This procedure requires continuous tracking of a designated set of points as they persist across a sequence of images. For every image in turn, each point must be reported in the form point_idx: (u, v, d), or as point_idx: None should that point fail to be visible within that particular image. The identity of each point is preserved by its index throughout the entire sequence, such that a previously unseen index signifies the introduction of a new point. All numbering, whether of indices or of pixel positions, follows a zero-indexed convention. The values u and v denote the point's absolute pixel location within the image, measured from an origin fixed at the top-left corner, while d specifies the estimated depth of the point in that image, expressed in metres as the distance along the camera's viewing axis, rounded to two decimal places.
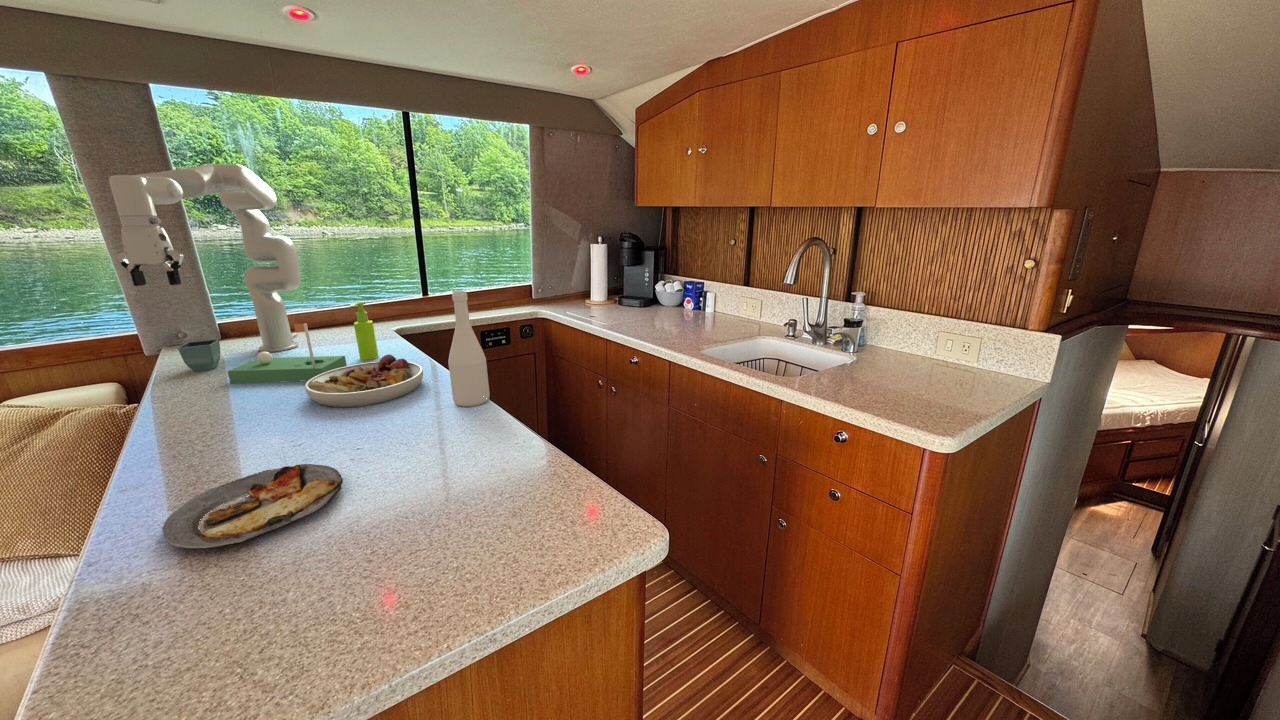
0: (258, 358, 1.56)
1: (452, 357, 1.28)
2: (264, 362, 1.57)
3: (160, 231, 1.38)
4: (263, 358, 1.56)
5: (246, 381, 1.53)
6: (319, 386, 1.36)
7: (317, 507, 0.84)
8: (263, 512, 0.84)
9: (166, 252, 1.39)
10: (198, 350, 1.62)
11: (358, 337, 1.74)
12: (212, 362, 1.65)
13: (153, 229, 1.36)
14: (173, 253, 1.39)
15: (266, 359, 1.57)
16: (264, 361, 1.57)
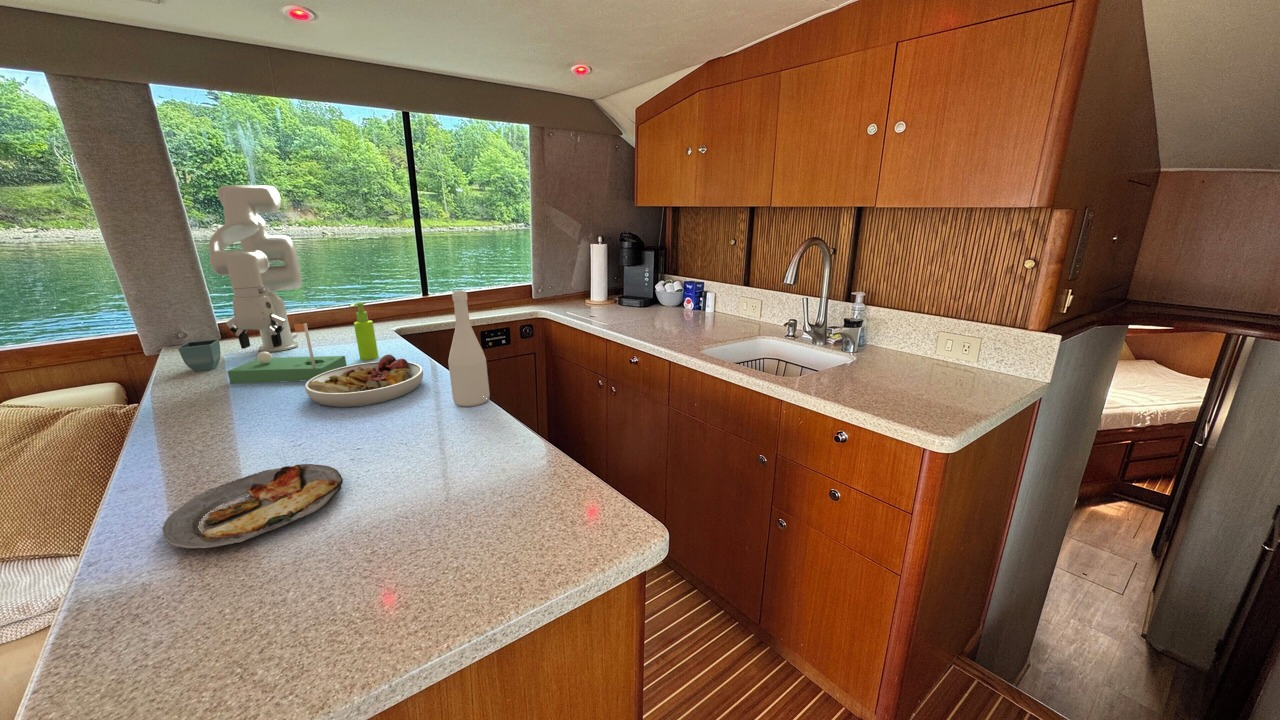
0: (258, 358, 1.56)
1: (452, 357, 1.28)
2: (264, 362, 1.57)
3: (266, 300, 1.53)
4: (263, 358, 1.56)
5: (246, 381, 1.53)
6: (319, 386, 1.36)
7: (317, 507, 0.84)
8: (263, 512, 0.84)
9: (271, 318, 1.54)
10: (198, 350, 1.62)
11: (358, 337, 1.74)
12: (212, 362, 1.65)
13: (261, 298, 1.51)
14: (277, 319, 1.54)
15: (266, 359, 1.57)
16: (264, 361, 1.57)
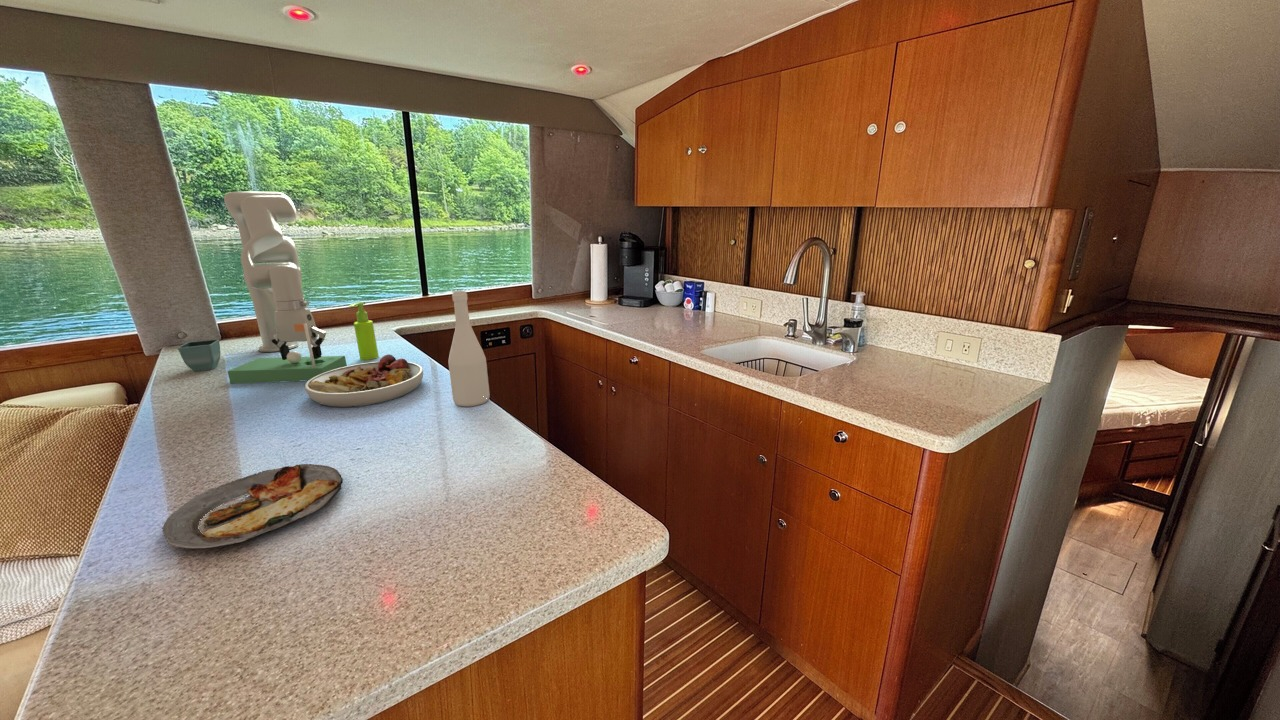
0: (290, 360, 1.57)
1: (452, 357, 1.28)
2: (294, 355, 1.57)
3: (307, 312, 1.55)
4: (288, 356, 1.56)
5: (246, 381, 1.53)
6: (319, 386, 1.36)
7: (317, 507, 0.84)
8: (263, 512, 0.84)
9: (312, 330, 1.56)
10: (198, 350, 1.62)
11: (358, 337, 1.74)
12: (212, 362, 1.65)
13: (303, 311, 1.53)
14: (318, 331, 1.56)
15: (291, 353, 1.57)
16: (292, 355, 1.56)
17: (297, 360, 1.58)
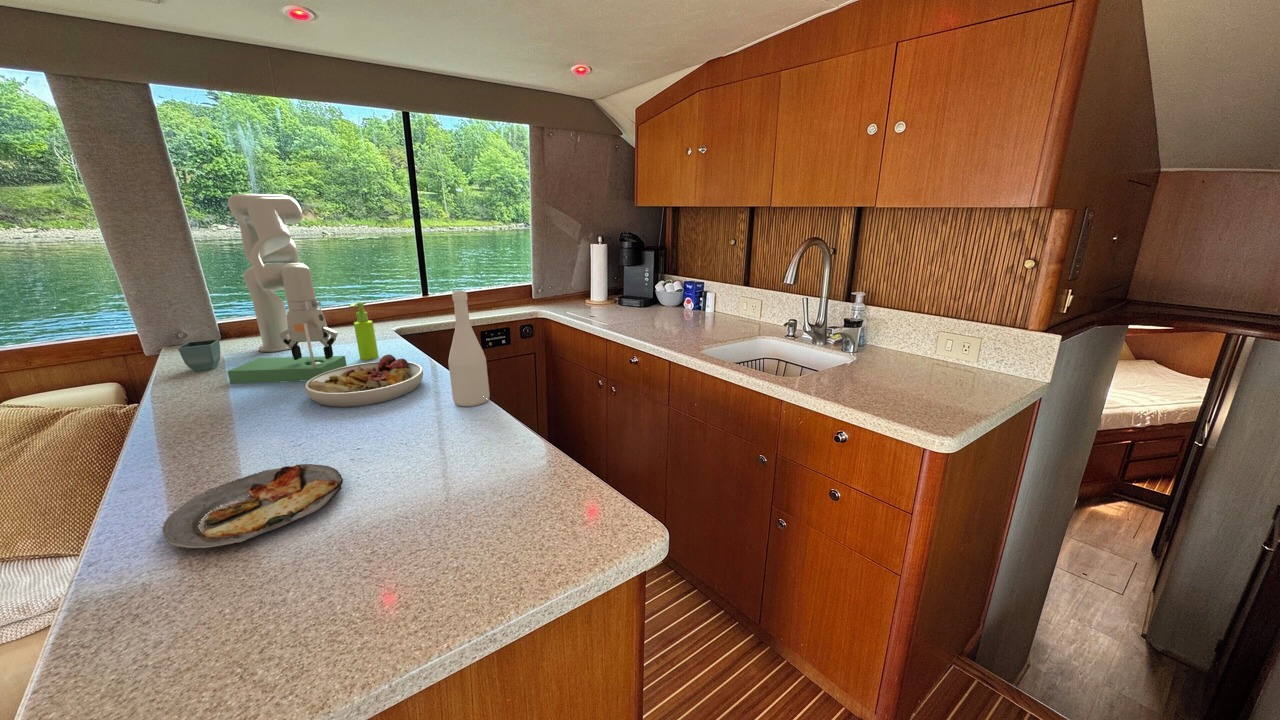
0: None
1: (452, 357, 1.28)
2: None
3: (319, 312, 1.55)
4: None
5: (246, 381, 1.53)
6: (319, 386, 1.36)
7: (317, 507, 0.84)
8: (263, 512, 0.84)
9: (324, 330, 1.56)
10: (198, 350, 1.62)
11: (358, 337, 1.74)
12: (212, 362, 1.65)
13: (315, 311, 1.54)
14: (330, 331, 1.56)
15: None
16: None
17: (315, 363, 1.59)
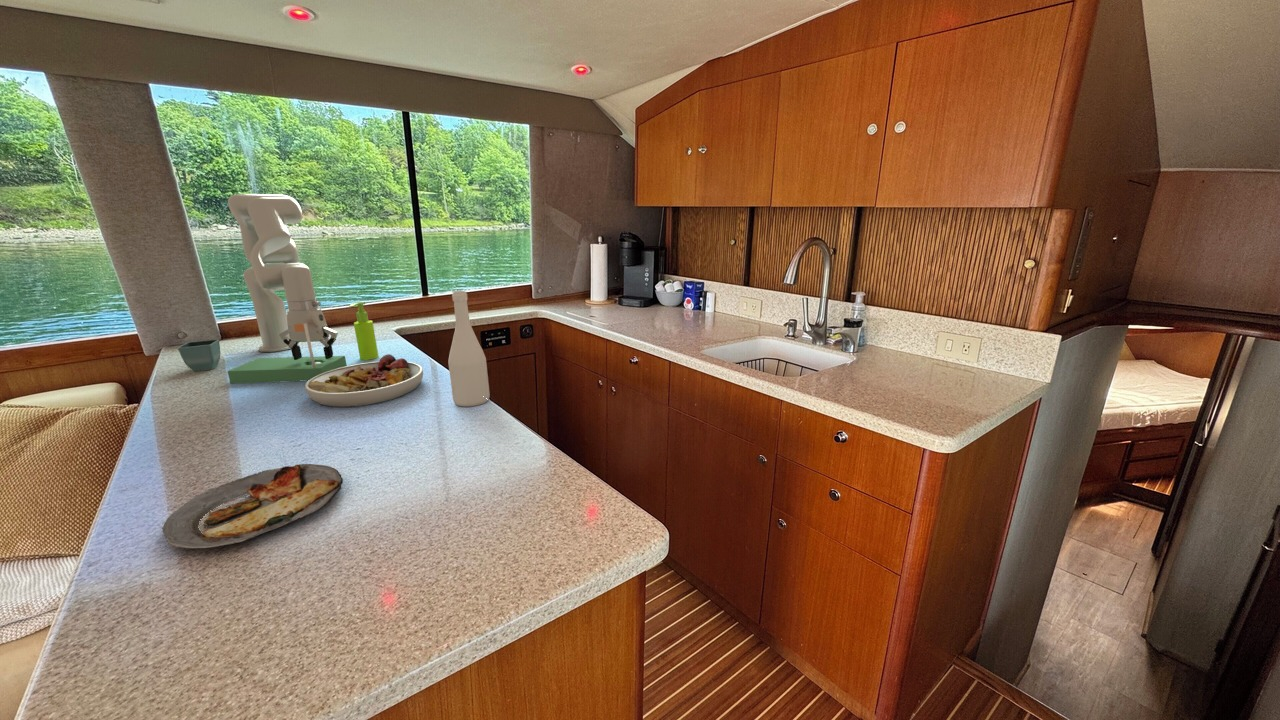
0: None
1: (452, 357, 1.28)
2: None
3: (319, 312, 1.55)
4: None
5: (246, 381, 1.53)
6: (319, 386, 1.36)
7: (317, 507, 0.84)
8: (263, 512, 0.84)
9: (324, 330, 1.56)
10: (198, 350, 1.62)
11: (358, 337, 1.74)
12: (212, 362, 1.65)
13: (315, 311, 1.54)
14: (330, 331, 1.56)
15: None
16: None
17: (315, 363, 1.59)
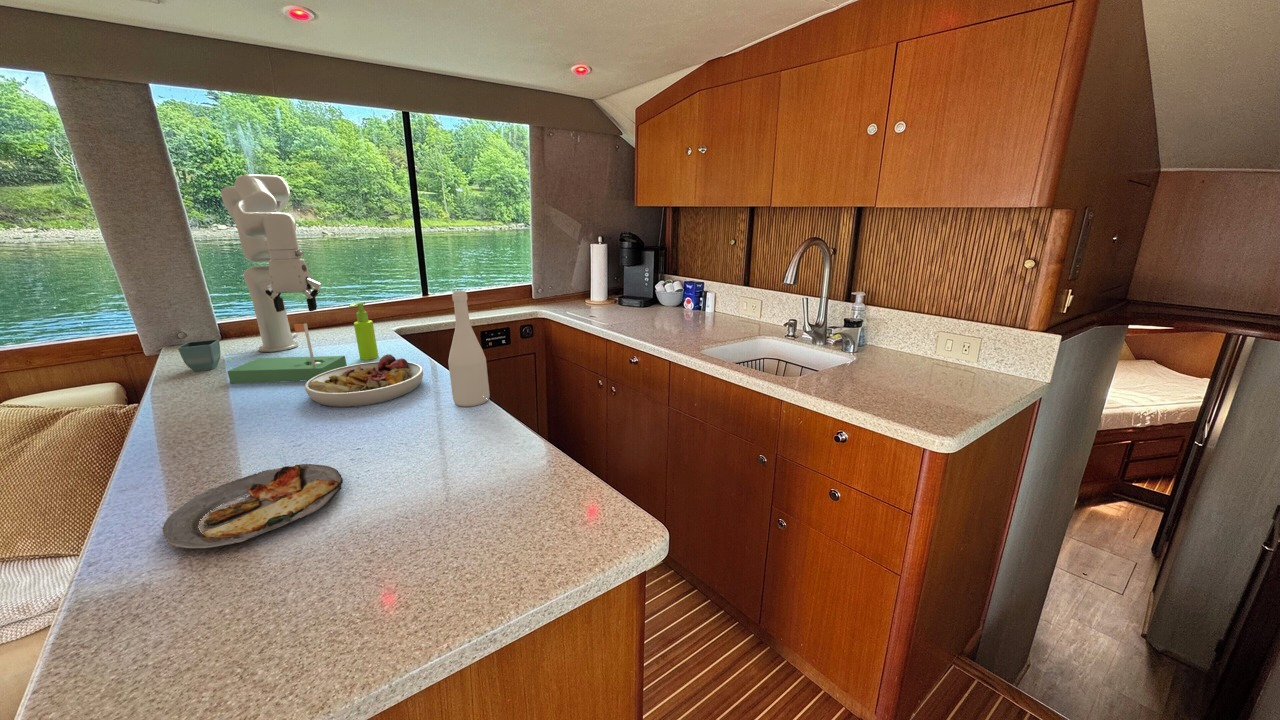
0: None
1: (452, 357, 1.28)
2: None
3: (302, 262, 1.52)
4: None
5: (246, 381, 1.53)
6: (319, 386, 1.36)
7: (317, 507, 0.84)
8: (263, 512, 0.84)
9: (307, 281, 1.53)
10: (198, 350, 1.62)
11: (358, 337, 1.74)
12: (212, 362, 1.65)
13: (298, 261, 1.50)
14: (313, 282, 1.53)
15: None
16: None
17: (315, 363, 1.59)
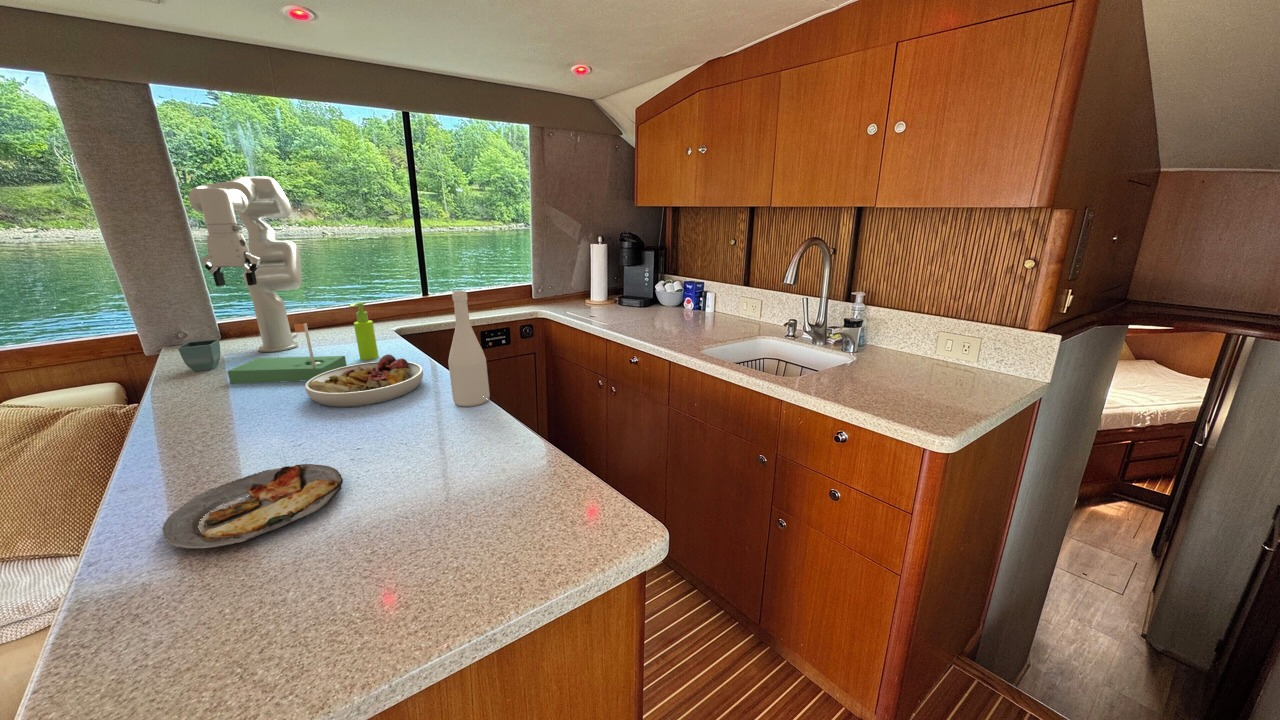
0: None
1: (452, 357, 1.28)
2: None
3: (240, 237, 1.55)
4: None
5: (246, 381, 1.53)
6: (319, 386, 1.36)
7: (317, 507, 0.84)
8: (263, 512, 0.84)
9: (245, 256, 1.56)
10: (198, 350, 1.62)
11: (358, 337, 1.74)
12: (212, 362, 1.65)
13: (235, 236, 1.53)
14: (252, 257, 1.56)
15: None
16: None
17: None
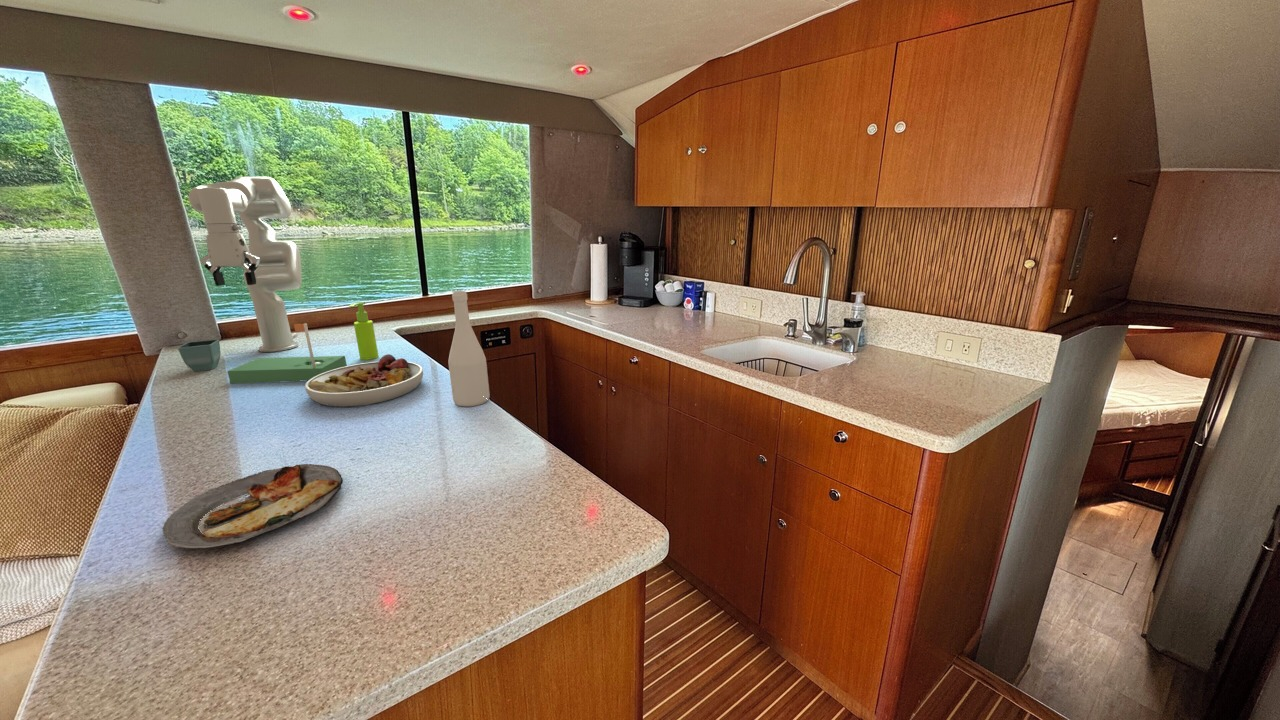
0: None
1: (452, 357, 1.28)
2: None
3: (240, 237, 1.55)
4: None
5: (246, 381, 1.53)
6: (319, 386, 1.36)
7: (317, 507, 0.84)
8: (263, 512, 0.84)
9: (245, 255, 1.56)
10: (198, 350, 1.62)
11: (358, 337, 1.74)
12: (212, 362, 1.65)
13: (235, 235, 1.53)
14: (251, 256, 1.56)
15: None
16: None
17: None
